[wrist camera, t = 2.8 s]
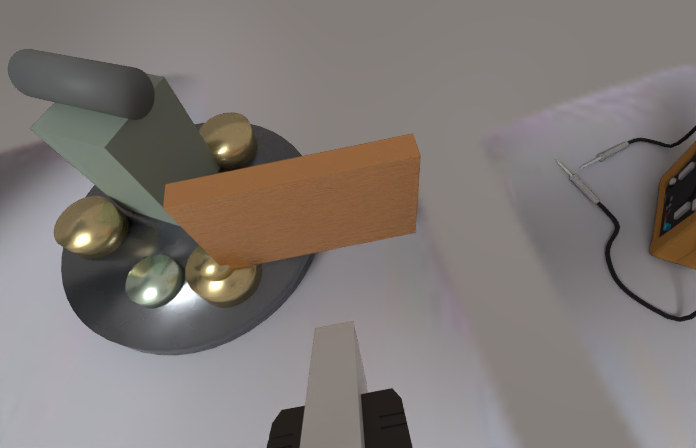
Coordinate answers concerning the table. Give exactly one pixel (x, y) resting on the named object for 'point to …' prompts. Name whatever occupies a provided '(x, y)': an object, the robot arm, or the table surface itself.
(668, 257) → the multimeter
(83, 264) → the tribrach plate
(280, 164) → the lever
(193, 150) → the wedge with rod handle
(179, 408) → the table surface
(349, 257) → the table surface
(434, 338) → the table surface
